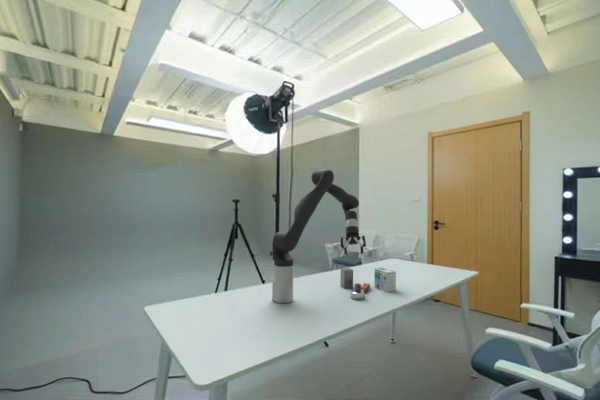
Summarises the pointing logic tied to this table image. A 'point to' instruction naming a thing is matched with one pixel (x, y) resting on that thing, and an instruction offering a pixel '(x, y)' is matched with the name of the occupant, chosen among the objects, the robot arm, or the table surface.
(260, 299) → the table surface
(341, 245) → the robot arm
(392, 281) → the light bulb box
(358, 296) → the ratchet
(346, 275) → the socket
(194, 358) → the table surface
